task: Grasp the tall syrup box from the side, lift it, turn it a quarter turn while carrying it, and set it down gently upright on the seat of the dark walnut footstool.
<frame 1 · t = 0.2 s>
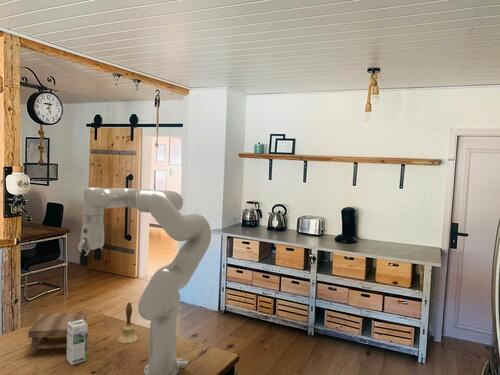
hand: (90, 262, 154), 36 cm above the table, fingers open, 9 cm apart
footstool: (58, 345, 161), on the table
syrup box: (76, 360, 150), on the table
hand bell: (128, 340, 170), on the table
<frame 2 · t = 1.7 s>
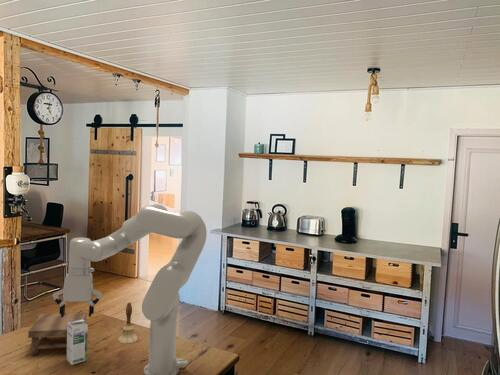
hand: (76, 315, 149), 17 cm above the table, fingers open, 9 cm apart
nothing on the table moved.
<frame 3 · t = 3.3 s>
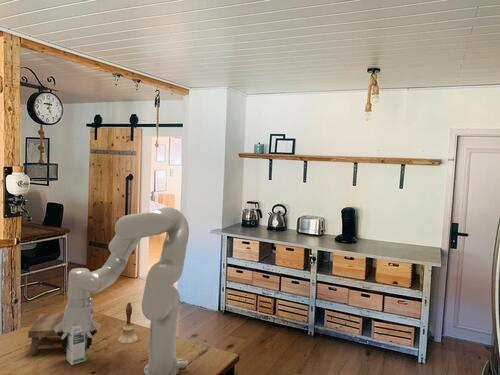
hand: (76, 347, 149), 5 cm above the table, fingers closed on syrup box, 7 cm apart
syrup box: (76, 360, 150), on the table, touching gripper
everything else where it was.
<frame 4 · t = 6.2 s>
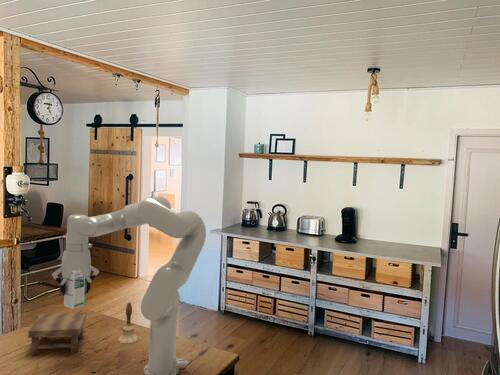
hand: (75, 293, 150), 25 cm above the table, fingers closed on syrup box, 7 cm apart
syrup box: (74, 306, 151), point 20 cm above the table, touching gripper
everything else where it was.
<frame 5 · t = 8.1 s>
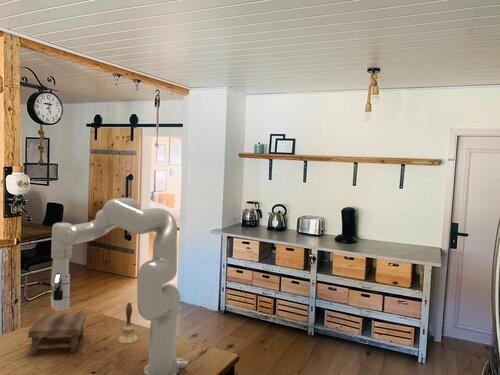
hand: (60, 296, 160), 20 cm above the table, fingers closed on syrup box, 7 cm apart
syrup box: (59, 308, 160), point 15 cm above the table, touching gripper
everything else where it was.
when the fingers open (17 cm above the table, at t = 9.5 s): syrup box drops 2 cm, resting on footstool.
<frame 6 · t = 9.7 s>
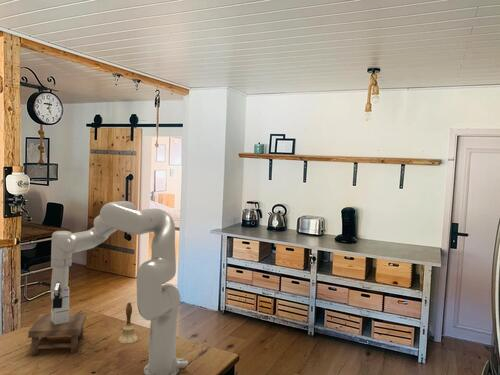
hand: (60, 303, 160), 17 cm above the table, fingers open, 9 cm apart
syrup box: (59, 322, 160), point 10 cm above the table, touching footstool
everything else where it was.
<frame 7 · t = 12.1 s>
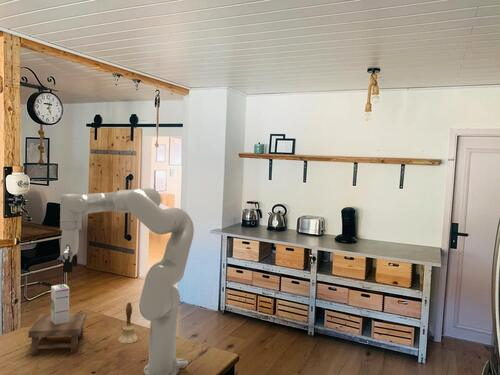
hand: (70, 269, 154), 33 cm above the table, fingers open, 9 cm apart
nothing on the table moved.
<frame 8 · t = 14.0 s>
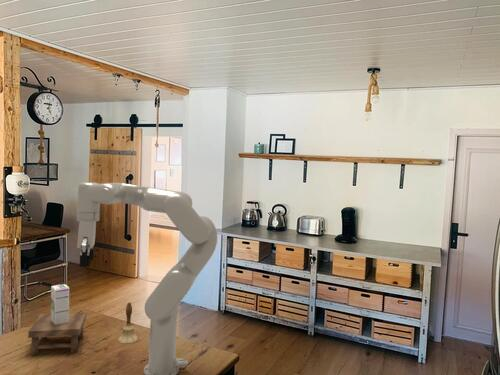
hand: (86, 263, 144), 38 cm above the table, fingers open, 9 cm apart
nothing on the table moved.
at the end: syrup box inside the target area on the footstool (0.5 cm from its centre), point 9.8 cm above the footstool's base; syrup box tilted 0°; the gripper is holding nothing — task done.
